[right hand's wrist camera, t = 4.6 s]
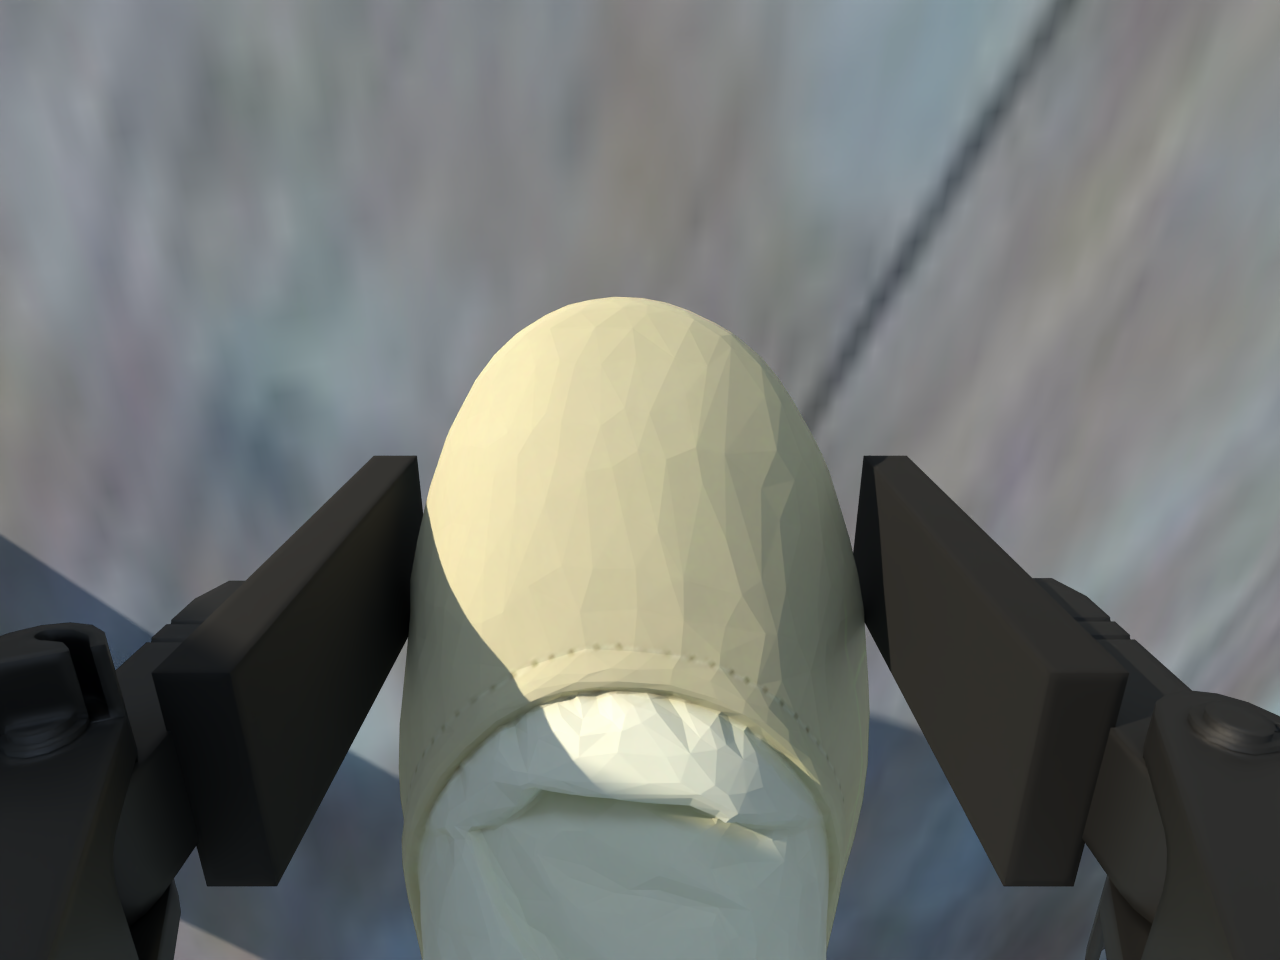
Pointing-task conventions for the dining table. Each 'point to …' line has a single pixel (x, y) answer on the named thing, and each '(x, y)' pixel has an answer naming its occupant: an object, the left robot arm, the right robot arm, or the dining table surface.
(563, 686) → the ballet flat
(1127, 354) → the dining table surface
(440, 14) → the dining table surface
